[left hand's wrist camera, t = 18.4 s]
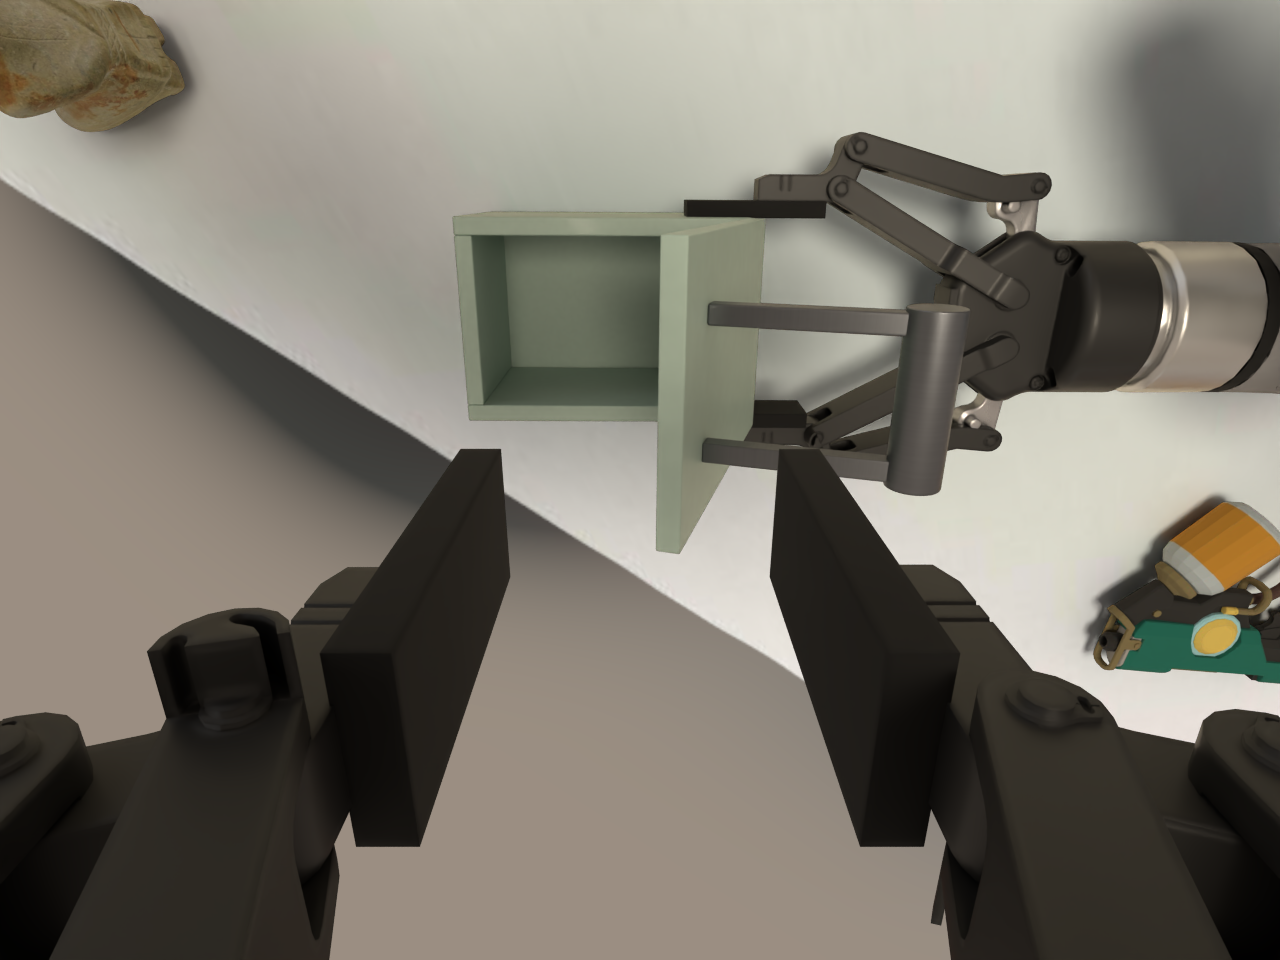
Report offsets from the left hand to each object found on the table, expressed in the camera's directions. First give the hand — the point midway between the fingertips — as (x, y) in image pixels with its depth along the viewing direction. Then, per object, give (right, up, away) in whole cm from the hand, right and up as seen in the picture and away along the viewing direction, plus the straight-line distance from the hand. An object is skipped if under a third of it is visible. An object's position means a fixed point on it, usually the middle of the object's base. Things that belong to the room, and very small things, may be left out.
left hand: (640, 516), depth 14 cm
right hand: (+2, +9, +23) cm, 25 cm away
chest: (-2, +11, +30) cm, 32 cm away
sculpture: (-27, +22, +25) cm, 44 cm away
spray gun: (+41, -7, +37) cm, 55 cm away
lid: (+3, +5, +14) cm, 15 cm away
